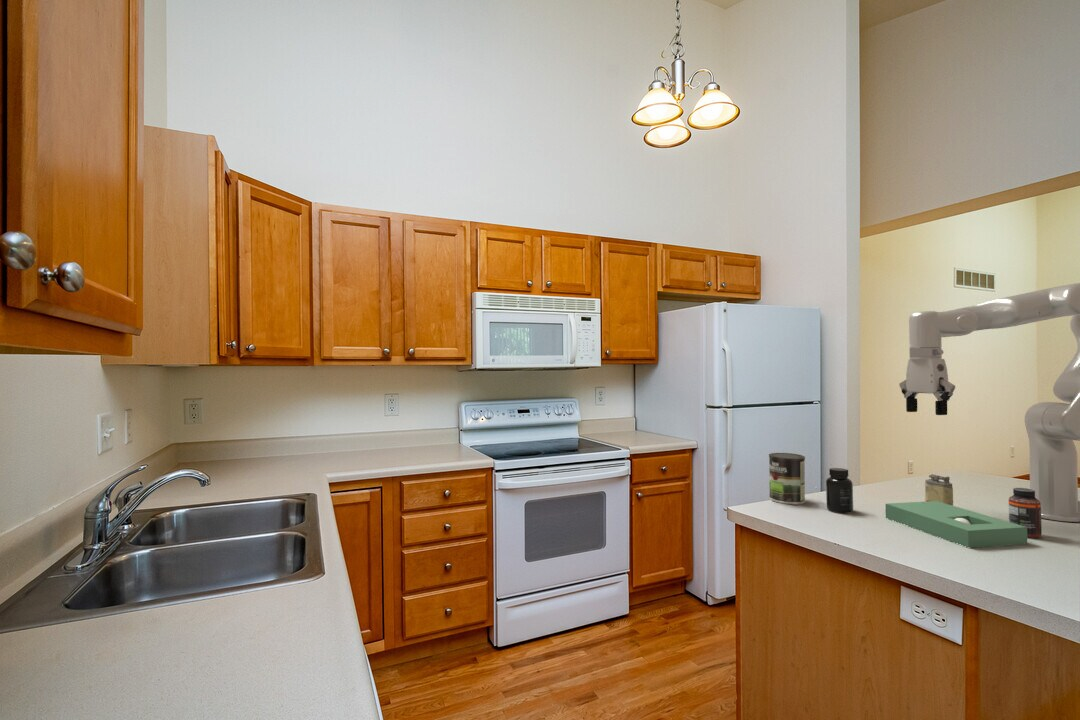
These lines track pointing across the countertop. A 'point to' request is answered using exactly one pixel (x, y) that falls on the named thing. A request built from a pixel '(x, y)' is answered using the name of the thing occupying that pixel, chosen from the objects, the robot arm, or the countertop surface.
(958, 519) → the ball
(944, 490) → the lighter
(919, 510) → the putting board
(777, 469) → the coffee can
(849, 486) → the supplement bottle
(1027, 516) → the supplement bottle
